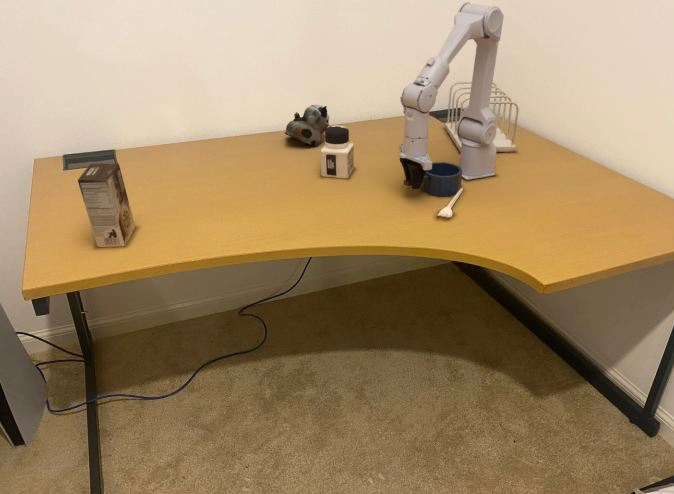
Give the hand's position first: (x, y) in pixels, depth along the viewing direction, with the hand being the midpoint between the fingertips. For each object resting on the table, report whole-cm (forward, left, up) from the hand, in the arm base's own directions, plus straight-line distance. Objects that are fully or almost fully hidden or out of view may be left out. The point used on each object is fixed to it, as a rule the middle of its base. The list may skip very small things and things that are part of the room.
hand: (413, 186), depth 148 cm
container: (+12, -23, -3) cm, 26 cm away
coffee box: (+72, -6, -3) cm, 73 cm away
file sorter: (-40, -32, -3) cm, 51 cm away
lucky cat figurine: (+12, -52, -3) cm, 54 cm away
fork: (-7, +8, -3) cm, 11 cm away
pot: (-6, -1, -3) cm, 7 cm away
